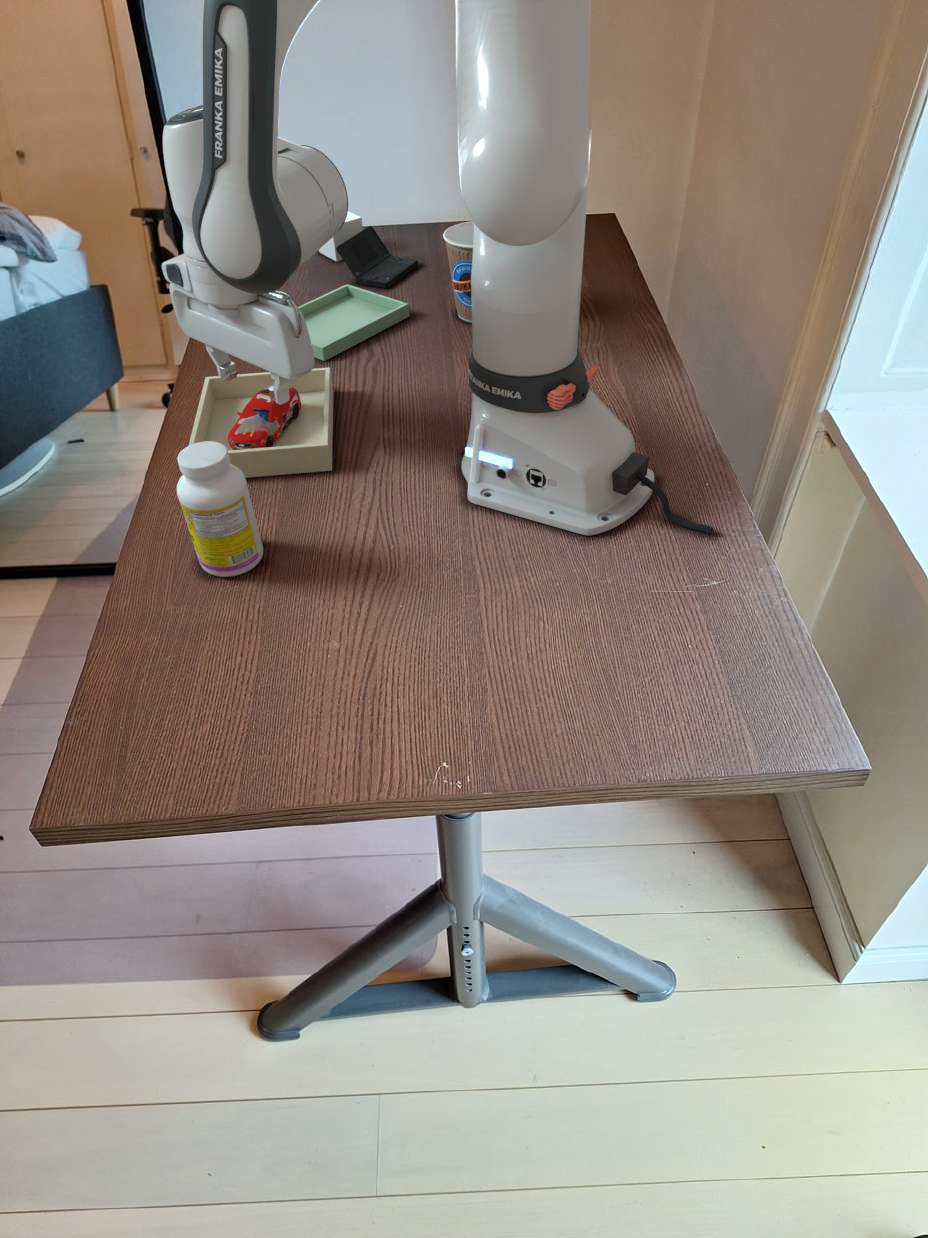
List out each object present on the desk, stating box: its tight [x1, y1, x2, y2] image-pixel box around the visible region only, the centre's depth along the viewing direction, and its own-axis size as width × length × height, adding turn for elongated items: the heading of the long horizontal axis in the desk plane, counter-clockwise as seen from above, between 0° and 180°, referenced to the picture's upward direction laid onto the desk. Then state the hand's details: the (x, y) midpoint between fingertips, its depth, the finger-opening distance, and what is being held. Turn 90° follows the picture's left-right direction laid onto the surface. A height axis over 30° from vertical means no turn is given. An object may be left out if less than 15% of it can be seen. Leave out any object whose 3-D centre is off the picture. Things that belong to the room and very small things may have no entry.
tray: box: [297, 283, 410, 362], centre depth 128 cm, size 13×18×2 cm
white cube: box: [318, 210, 364, 263], centre depth 149 cm, size 6×6×6 cm
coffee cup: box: [442, 220, 474, 324], centre depth 126 cm, size 10×10×12 cm
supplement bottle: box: [176, 441, 264, 578], centre depth 84 cm, size 7×7×13 cm
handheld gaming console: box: [336, 225, 419, 290], centre depth 142 cm, size 12×7×10 cm
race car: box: [228, 385, 301, 450], centre depth 105 cm, size 13×5×4 cm, turn 163°
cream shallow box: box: [188, 367, 334, 478], centre depth 105 cm, size 19×16×4 cm
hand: (254, 389), depth 103 cm, fingers open, 8 cm apart
